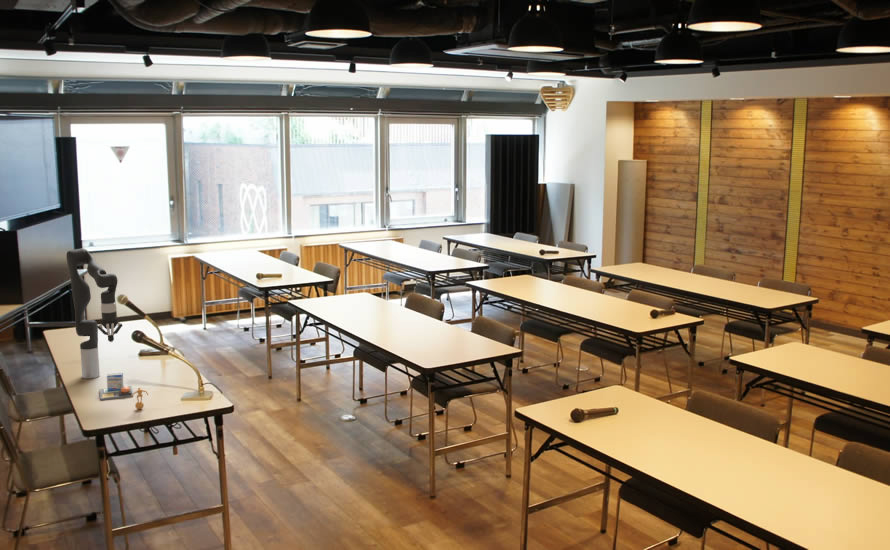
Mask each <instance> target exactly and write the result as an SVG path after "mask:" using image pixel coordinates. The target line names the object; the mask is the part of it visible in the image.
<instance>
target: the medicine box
mask: <svg viewBox="0 0 890 550" xmlns="http://www.w3.org/2000/svg"><path fill="white" fill-rule="evenodd" d="M106 384H107V385H106V386H107V387H106V388H107V389H108V391H116V390H121V388H123V387H124V373H123V372H117V373H107V374H106Z"/></svg>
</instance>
